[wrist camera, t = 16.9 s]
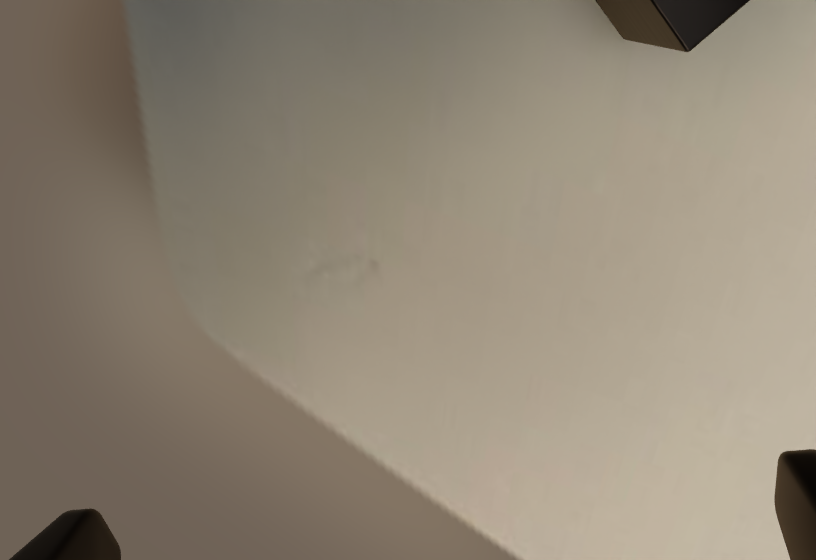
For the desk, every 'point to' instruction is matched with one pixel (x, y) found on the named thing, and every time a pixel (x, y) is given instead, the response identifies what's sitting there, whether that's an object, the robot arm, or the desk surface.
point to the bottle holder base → (669, 20)
